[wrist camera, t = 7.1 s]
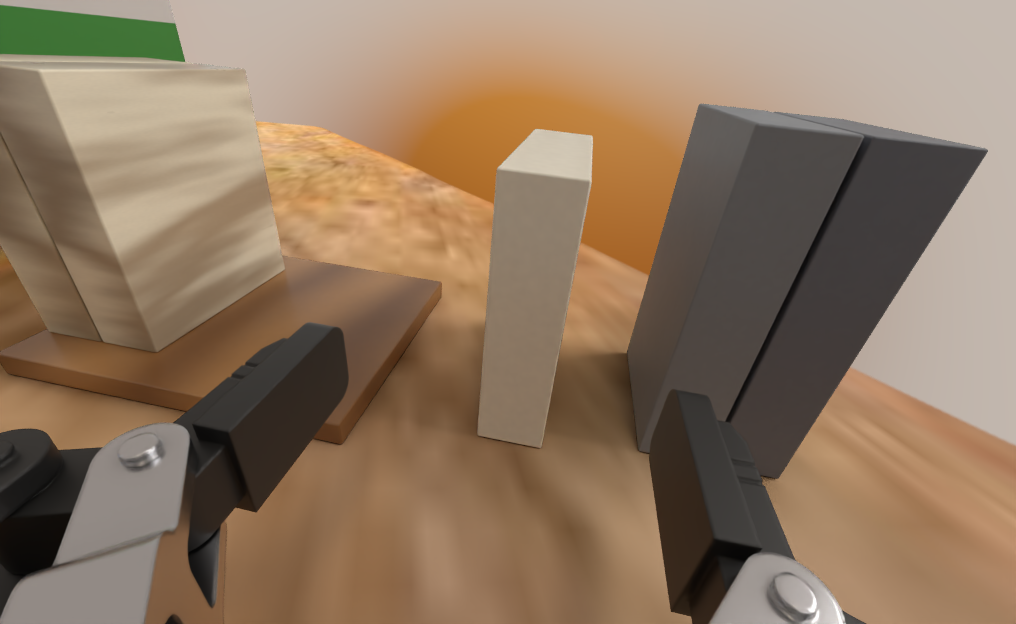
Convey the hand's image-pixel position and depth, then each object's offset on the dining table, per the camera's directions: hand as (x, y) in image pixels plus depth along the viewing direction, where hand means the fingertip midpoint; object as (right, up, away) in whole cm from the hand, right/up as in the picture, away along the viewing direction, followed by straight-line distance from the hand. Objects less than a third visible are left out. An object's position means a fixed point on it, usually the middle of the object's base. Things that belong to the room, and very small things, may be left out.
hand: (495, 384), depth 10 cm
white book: (+1, -2, +13) cm, 13 cm away
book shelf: (-14, +1, +15) cm, 20 cm away
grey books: (+10, -3, +12) cm, 16 cm away
